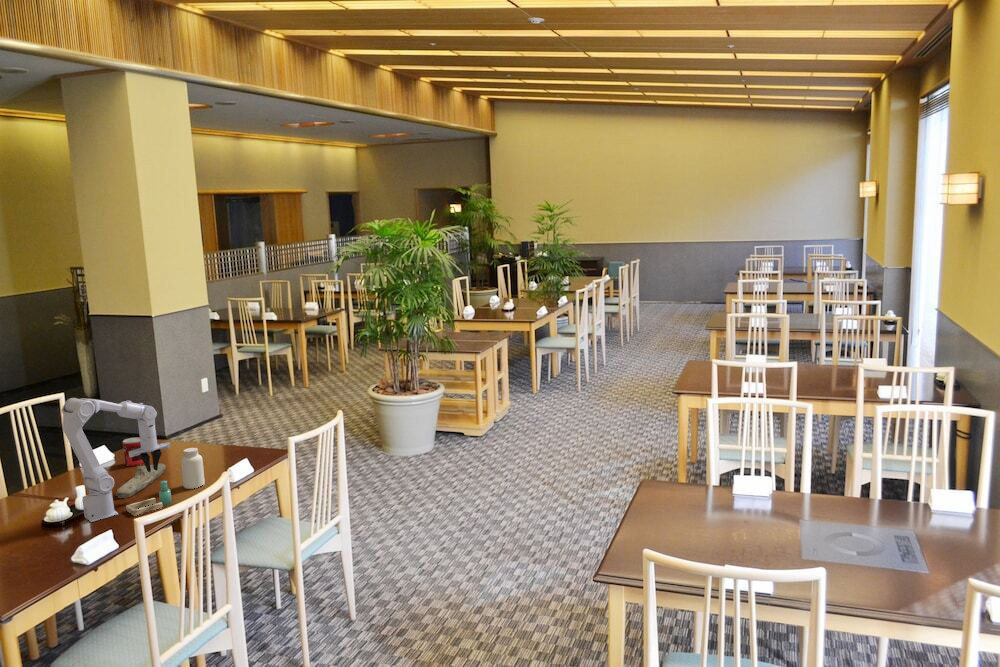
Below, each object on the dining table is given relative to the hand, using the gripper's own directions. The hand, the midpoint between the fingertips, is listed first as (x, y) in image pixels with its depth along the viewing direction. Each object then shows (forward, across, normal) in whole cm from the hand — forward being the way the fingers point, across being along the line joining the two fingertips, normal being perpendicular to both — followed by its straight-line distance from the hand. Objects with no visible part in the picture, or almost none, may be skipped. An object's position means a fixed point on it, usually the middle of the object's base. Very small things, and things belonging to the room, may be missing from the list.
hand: (152, 470), depth 295 cm
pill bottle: (+11, -15, 0) cm, 18 cm away
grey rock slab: (+11, -2, -21) cm, 24 cm away
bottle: (+10, 0, +11) cm, 15 cm away
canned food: (+11, -9, -51) cm, 53 cm away
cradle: (+10, +7, +11) cm, 17 cm away
